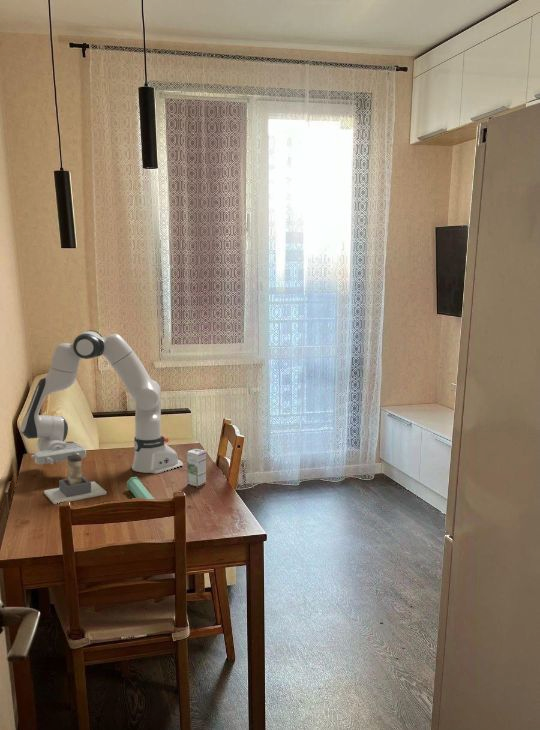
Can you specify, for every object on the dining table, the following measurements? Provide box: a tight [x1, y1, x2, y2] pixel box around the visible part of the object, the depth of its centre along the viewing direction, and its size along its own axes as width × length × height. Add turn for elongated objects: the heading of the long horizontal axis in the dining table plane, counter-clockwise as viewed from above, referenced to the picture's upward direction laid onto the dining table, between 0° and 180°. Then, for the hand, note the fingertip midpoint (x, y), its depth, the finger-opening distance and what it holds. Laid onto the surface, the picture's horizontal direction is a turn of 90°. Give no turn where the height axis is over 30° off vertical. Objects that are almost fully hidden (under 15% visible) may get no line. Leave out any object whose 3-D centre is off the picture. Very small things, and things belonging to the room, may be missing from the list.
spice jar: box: [67, 455, 83, 486], centre depth 234 cm, size 4×4×14 cm
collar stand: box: [43, 475, 108, 505], centre depth 234 cm, size 20×14×5 cm
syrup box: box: [186, 448, 207, 486], centre depth 247 cm, size 6×6×14 cm
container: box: [126, 476, 155, 499], centre depth 229 cm, size 6×6×25 cm
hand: (65, 460), depth 242 cm, fingers open, 8 cm apart
